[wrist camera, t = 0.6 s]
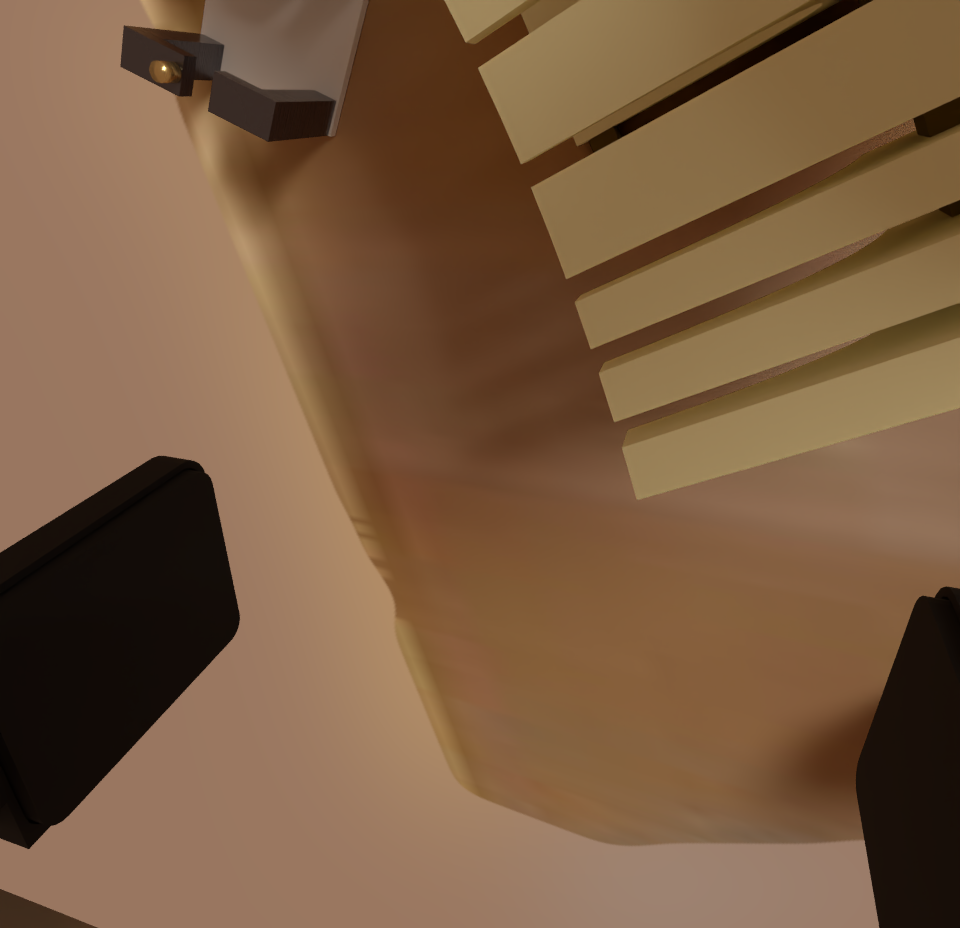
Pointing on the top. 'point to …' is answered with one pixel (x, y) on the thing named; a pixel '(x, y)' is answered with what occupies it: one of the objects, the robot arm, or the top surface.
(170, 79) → the dark angular blocks
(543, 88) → the slatted curved stool
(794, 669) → the top surface
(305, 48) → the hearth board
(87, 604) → the robot arm
